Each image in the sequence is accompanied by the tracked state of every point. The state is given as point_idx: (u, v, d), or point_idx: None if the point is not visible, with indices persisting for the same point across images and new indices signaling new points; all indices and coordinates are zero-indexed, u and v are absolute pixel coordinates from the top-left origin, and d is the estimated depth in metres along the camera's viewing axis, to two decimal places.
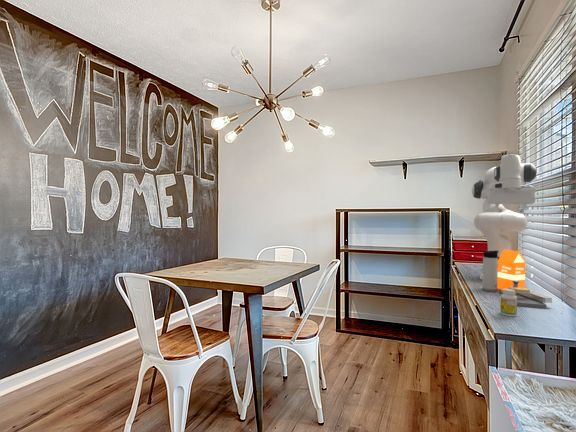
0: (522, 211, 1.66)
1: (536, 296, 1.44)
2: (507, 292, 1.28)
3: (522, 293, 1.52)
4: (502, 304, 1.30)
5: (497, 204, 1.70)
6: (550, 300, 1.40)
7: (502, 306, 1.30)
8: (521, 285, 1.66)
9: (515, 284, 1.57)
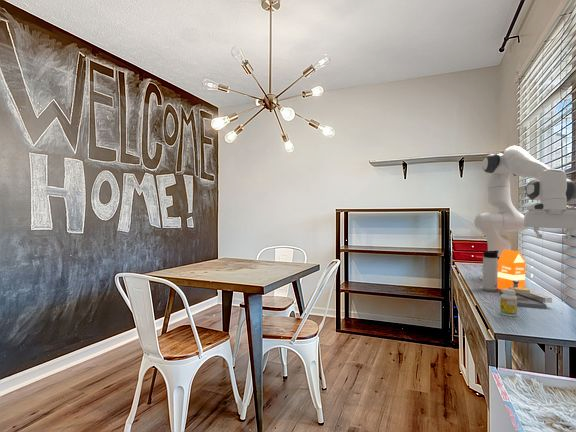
0: (567, 237, 1.40)
1: (536, 296, 1.44)
2: (507, 292, 1.28)
3: (522, 293, 1.52)
4: (502, 304, 1.30)
5: (537, 228, 1.44)
6: (550, 300, 1.40)
7: (502, 306, 1.30)
8: (521, 285, 1.66)
9: (515, 284, 1.57)
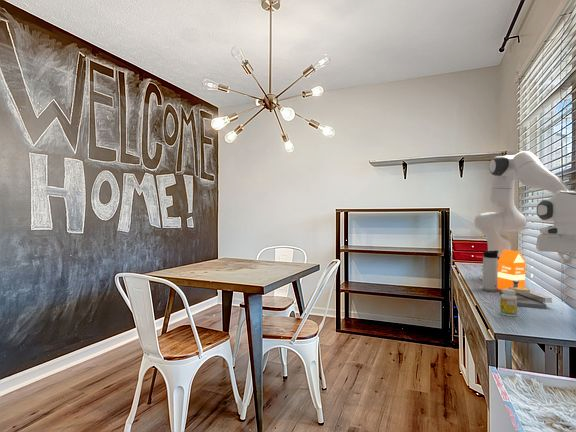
0: (569, 262, 1.37)
1: (536, 296, 1.44)
2: (507, 292, 1.28)
3: (522, 293, 1.52)
4: (502, 304, 1.30)
5: (562, 253, 1.38)
6: (550, 300, 1.40)
7: (502, 306, 1.30)
8: (521, 285, 1.66)
9: (515, 284, 1.57)
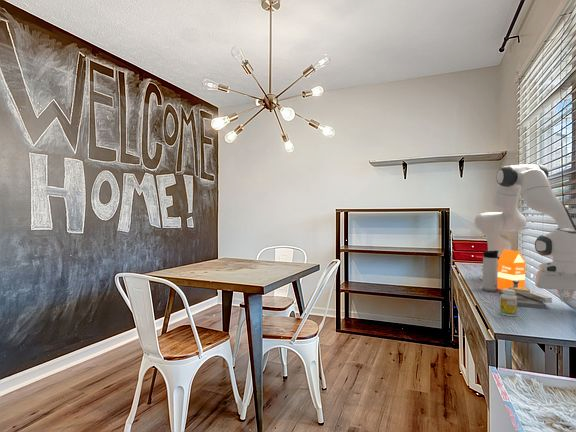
0: (568, 299, 1.38)
1: (536, 296, 1.44)
2: (507, 292, 1.28)
3: (522, 293, 1.52)
4: (502, 304, 1.30)
5: (560, 291, 1.38)
6: (550, 300, 1.40)
7: (502, 306, 1.30)
8: (521, 285, 1.66)
9: (515, 284, 1.57)
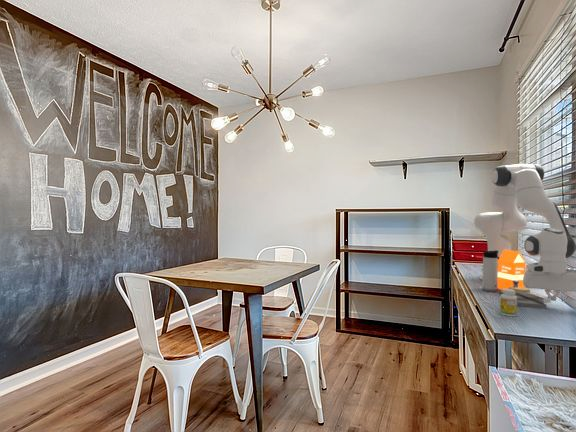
0: (554, 299, 1.39)
1: (535, 296, 1.44)
2: (507, 292, 1.28)
3: (521, 293, 1.52)
4: (502, 304, 1.30)
5: (548, 290, 1.40)
6: (549, 300, 1.39)
7: (502, 306, 1.30)
8: (521, 285, 1.66)
9: (515, 284, 1.57)
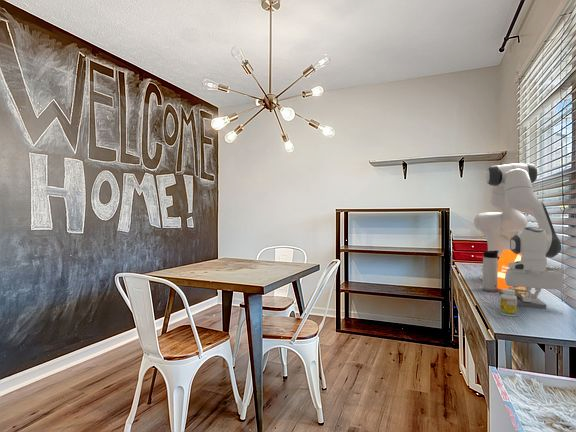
0: (535, 297, 1.41)
1: (520, 295, 1.45)
2: (507, 292, 1.28)
3: None
4: (502, 304, 1.30)
5: (529, 288, 1.42)
6: (529, 299, 1.40)
7: (502, 306, 1.30)
8: None
9: None
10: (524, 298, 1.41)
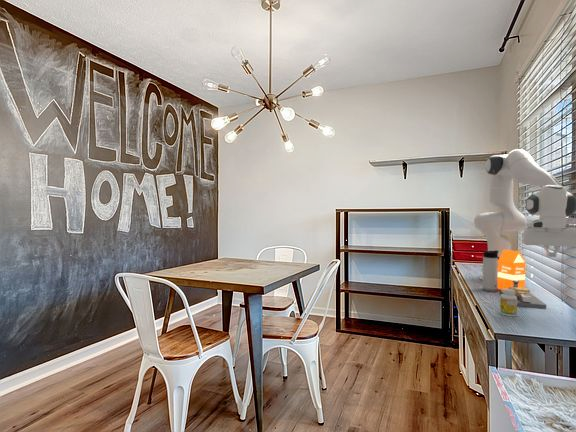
0: (554, 255, 1.39)
1: (519, 295, 1.45)
2: (507, 292, 1.28)
3: None
4: (502, 304, 1.30)
5: (547, 247, 1.40)
6: (529, 299, 1.40)
7: (502, 306, 1.30)
8: (521, 285, 1.66)
9: (514, 284, 1.58)
10: (524, 298, 1.41)
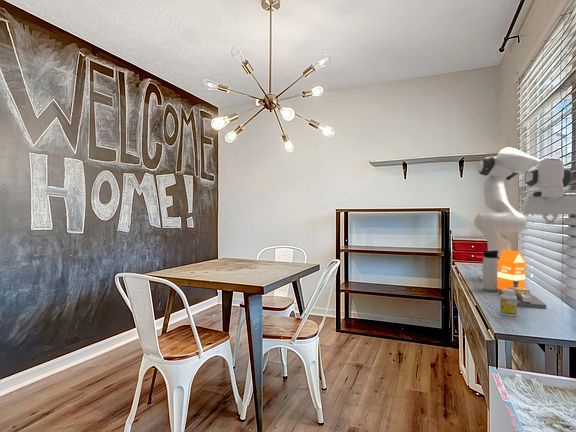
0: (553, 222, 1.50)
1: (519, 295, 1.45)
2: (507, 292, 1.28)
3: None
4: (502, 304, 1.30)
5: (545, 215, 1.51)
6: (529, 299, 1.40)
7: (502, 306, 1.30)
8: (521, 285, 1.66)
9: (514, 284, 1.58)
10: (524, 298, 1.41)
